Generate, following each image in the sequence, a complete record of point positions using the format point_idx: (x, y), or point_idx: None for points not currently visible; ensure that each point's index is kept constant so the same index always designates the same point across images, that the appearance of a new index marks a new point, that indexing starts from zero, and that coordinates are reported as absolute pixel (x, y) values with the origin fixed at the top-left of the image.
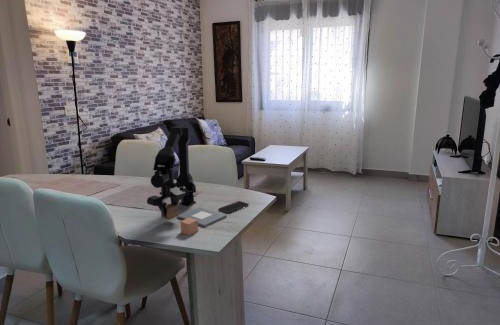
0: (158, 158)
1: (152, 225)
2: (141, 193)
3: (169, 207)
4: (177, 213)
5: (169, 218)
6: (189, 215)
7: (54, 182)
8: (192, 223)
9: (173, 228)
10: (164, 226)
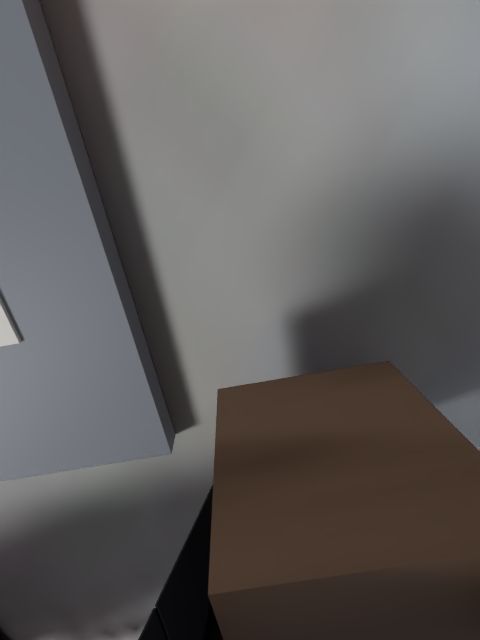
0: None
1: (465, 431)
2: None
3: (454, 597)
4: (220, 418)
5: (386, 370)
6: (34, 372)
7: None
8: None
9: (390, 196)
10: (414, 331)
